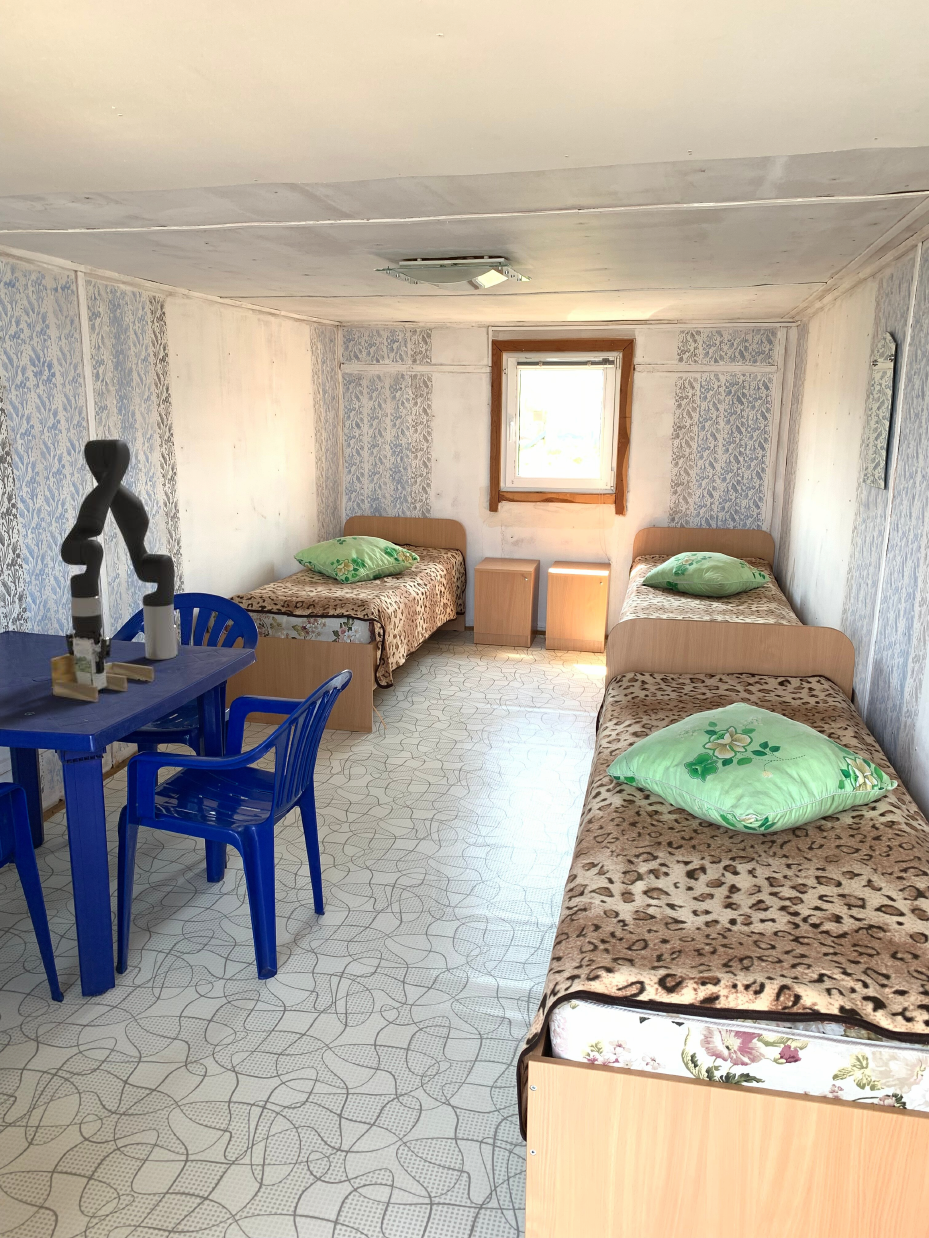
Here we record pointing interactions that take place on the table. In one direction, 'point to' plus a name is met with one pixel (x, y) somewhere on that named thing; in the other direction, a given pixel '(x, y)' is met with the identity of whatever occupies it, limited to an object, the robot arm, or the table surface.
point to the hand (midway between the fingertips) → (90, 671)
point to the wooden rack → (69, 688)
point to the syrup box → (87, 663)
